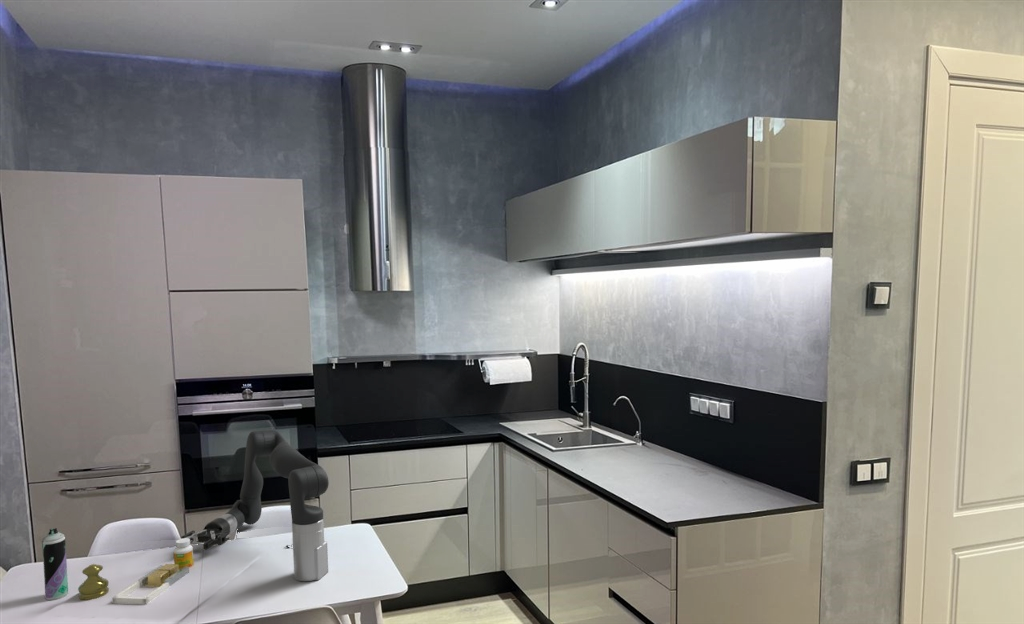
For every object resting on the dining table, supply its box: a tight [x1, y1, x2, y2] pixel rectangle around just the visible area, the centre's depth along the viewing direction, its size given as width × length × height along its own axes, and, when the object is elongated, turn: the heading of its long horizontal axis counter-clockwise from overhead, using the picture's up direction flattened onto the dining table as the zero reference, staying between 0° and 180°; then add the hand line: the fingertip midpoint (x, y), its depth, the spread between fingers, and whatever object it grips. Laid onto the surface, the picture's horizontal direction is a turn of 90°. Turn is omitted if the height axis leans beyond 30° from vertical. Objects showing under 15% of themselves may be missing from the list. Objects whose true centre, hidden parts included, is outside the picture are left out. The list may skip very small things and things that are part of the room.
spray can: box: [41, 527, 69, 601], centre depth 190 cm, size 6×6×20 cm
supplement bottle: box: [173, 538, 194, 570], centre depth 206 cm, size 5×5×10 cm
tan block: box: [148, 570, 169, 586], centre depth 194 cm, size 4×4×3 cm
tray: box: [111, 581, 170, 605], centre depth 186 cm, size 10×10×3 cm
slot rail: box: [137, 564, 190, 588], centre depth 196 cm, size 10×9×4 cm
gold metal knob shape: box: [77, 563, 110, 601], centre depth 188 cm, size 7×7×10 cm
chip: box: [158, 563, 179, 577], centre depth 198 cm, size 4×4×3 cm
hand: (192, 546), depth 210 cm, fingers open, 8 cm apart
